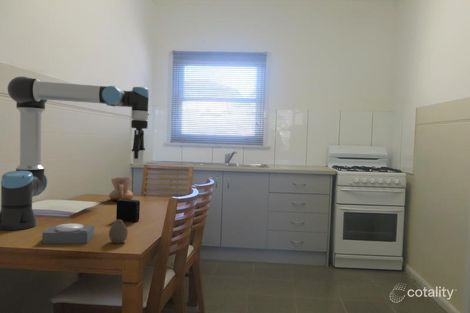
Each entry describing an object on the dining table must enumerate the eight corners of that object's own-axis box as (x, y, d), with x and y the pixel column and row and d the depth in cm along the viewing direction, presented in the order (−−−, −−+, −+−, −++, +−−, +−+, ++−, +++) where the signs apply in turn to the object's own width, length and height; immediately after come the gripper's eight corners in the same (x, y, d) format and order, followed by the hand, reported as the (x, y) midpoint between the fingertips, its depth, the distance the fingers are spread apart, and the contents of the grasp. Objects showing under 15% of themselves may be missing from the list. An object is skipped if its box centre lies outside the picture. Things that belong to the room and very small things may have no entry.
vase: (115, 239, 152) (116, 217, 151) (130, 241, 150) (131, 219, 149) (105, 243, 145) (105, 220, 145) (120, 245, 143) (121, 222, 143)
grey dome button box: (42, 243, 141) (42, 230, 141) (52, 234, 153) (52, 222, 153) (87, 243, 144) (87, 230, 144) (94, 235, 156) (94, 223, 155)
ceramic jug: (110, 197, 245) (110, 175, 244) (133, 197, 248) (134, 176, 247) (107, 203, 227) (107, 179, 226) (132, 203, 231) (133, 180, 230)
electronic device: (135, 222, 181) (136, 201, 180) (116, 220, 183) (116, 200, 182) (139, 220, 185) (140, 200, 184) (120, 219, 187) (121, 198, 186)
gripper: (144, 119, 169) (142, 167, 170) (150, 121, 194) (149, 162, 195) (127, 118, 168) (125, 166, 169) (135, 120, 193) (134, 162, 194)
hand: (138, 164), depth 182 cm, fingers open, 13 cm apart
